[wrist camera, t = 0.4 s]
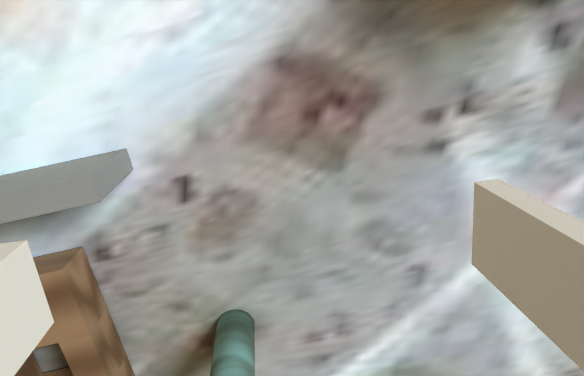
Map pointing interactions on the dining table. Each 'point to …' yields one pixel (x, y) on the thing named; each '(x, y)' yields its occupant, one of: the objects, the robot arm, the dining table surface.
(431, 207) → the dining table surface
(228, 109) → the dining table surface
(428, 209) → the dining table surface
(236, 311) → the dowel
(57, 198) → the wall
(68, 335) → the socket block
